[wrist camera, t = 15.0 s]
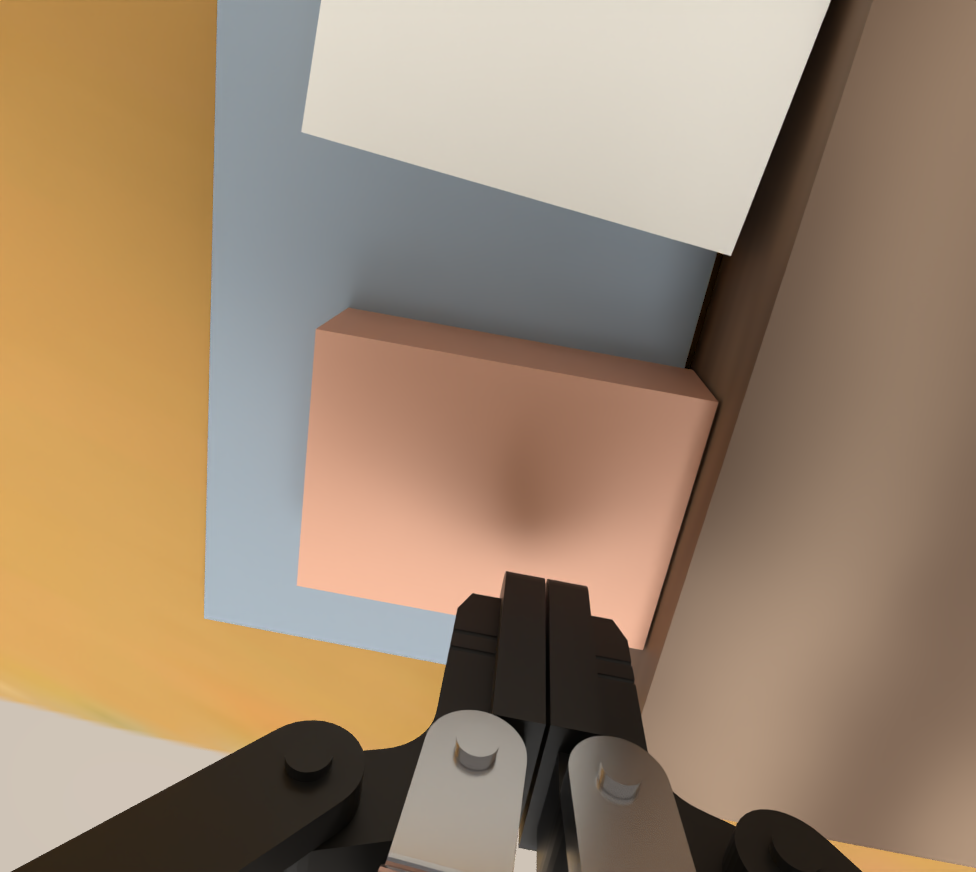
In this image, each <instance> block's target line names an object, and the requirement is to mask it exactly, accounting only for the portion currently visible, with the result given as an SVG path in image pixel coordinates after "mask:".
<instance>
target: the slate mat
mask: <svg viewBox="0 0 976 872" xmlns="http://www.w3.org/2000/svg"><path fill="white" fill-rule="evenodd" d="M320 5H321V0H217V46H216V92H215V138H214V184H213V230H212V276H211V322H210V369H209V415H208V461H207V507H206V553H205V599H204V619H210V620H215V621H220V622H225V623H231V624H236V625H241V626H246V627H252V628H257V629H262V630H267V631H273V632H278V633H283V634H288V635H294V636H299V637H304V638H309V639H315V640H320V641H325V642H330V643H335V644H341V645H346V646H351V647H356V648H362V649H367V650H372V651H377V652H383V653H388V654H393V655H398V656H404V657H409V658H414V659H419V660H425V661H430V662H435V663H440V664H446V662H447V658H448V653H449V648H450V643H451V638H452V633H453V628H454V623H455V618H456V615H451V614H446V613H440V612H435V611H430V610H424V609H419V608H413V607H408V606H403V605H397V604H392V603H387V602H381V601H376V600H370V599H365V598H360V597H354V596H349V595H344V594H338V593H333V592H327V591H322V590H317V589H311V588H306V587H301V586H297V575H298V561H299V548H300V534H301V521H302V507H303V494H304V480H305V467H306V453H307V440H308V427H309V413H310V400H311V386H312V373H313V359H314V346H315V332H316V329H317V328H318V327H320V326H321V325H323V324H324V323H326V322H327V321H329V320H330V319H332V318H333V317H335V316H336V315H338V314H339V313H341V312H342V311H344V310H345V309H347V308H354V309H359V310H365V311H370V312H376V313H381V314H387V315H392V316H398V317H403V318H409V319H414V320H420V321H425V322H431V323H437V324H442V325H448V326H453V327H459V328H464V329H470V330H475V331H481V332H486V333H492V334H497V335H503V336H508V337H514V338H519V339H525V340H530V341H536V342H542V343H547V344H553V345H558V346H564V347H569V348H575V349H580V350H586V351H591V352H597V353H602V354H608V355H613V356H619V357H624V358H630V359H635V360H641V361H647V362H652V363H658V364H663V365H669V366H674V367H680V368H684V367H685V364H686V360H687V357H688V353H689V350H690V346H691V343H692V339H693V336H694V332H695V329H696V325H697V322H698V318H699V315H700V311H701V308H702V304H703V301H704V297H705V294H706V290H707V287H708V283H709V280H710V276H711V273H712V269H713V266H714V262H715V259H716V255H717V252H715V251H712V250H708V249H705V248H701V247H698V246H695V245H691V244H688V243H684V242H681V241H677V240H674V239H670V238H667V237H663V236H660V235H656V234H653V233H649V232H646V231H643V230H639V229H636V228H632V227H629V226H625V225H622V224H618V223H615V222H611V221H608V220H604V219H601V218H597V217H594V216H590V215H587V214H584V213H580V212H577V211H573V210H570V209H566V208H563V207H559V206H556V205H552V204H549V203H545V202H542V201H538V200H535V199H532V198H528V197H525V196H521V195H518V194H514V193H511V192H507V191H504V190H500V189H497V188H493V187H490V186H486V185H483V184H480V183H476V182H473V181H469V180H466V179H462V178H459V177H455V176H452V175H448V174H445V173H441V172H438V171H434V170H431V169H428V168H424V167H421V166H417V165H414V164H410V163H407V162H403V161H400V160H396V159H393V158H389V157H386V156H382V155H379V154H376V153H372V152H369V151H365V150H362V149H358V148H355V147H351V146H348V145H344V144H341V143H337V142H334V141H330V140H327V139H324V138H320V137H317V136H313V135H310V134H306V133H303V132H301V130H302V124H303V117H304V110H305V104H306V97H307V91H308V84H309V77H310V71H311V64H312V58H313V51H314V44H315V38H316V31H317V25H318V18H319V11H320Z"/></svg>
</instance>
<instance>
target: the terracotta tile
mask: <svg viewBox="0 0 976 872" xmlns="http://www.w3.org/2000/svg"><path fill="white" fill-rule="evenodd" d="M717 406H718V401H717V399H716V398H715V397H714V396H713V394H712V393H711V392H710V391H709V389H708V388H707V387H706V386H705V384H704V383H703V382H702V381H701V379H700V378H699V377H698V375H697V374H696V373H695V372H694V370H691V369H685V368H680V367H674V366H669V365H663V364H658V363H652V362H647V361H641V360H635V359H630V358H624V357H619V356H613V355H608V354H602V353H597V352H591V351H586V350H580V349H575V348H569V347H564V346H558V345H553V344H547V343H542V342H536V341H530V340H525V339H519V338H514V337H508V336H503V335H497V334H492V333H486V332H481V331H475V330H470V329H464V328H459V327H453V326H448V325H442V324H437V323H431V322H425V321H420V320H414V319H409V318H403V317H398V316H392V315H387V314H381V313H376V312H370V311H365V310H359V309H354V308H347V309H345V310H344V311H342V312H341V313H339V314H338V315H336V316H335V317H333V318H332V319H330V320H329V321H327V322H326V323H324V324H323V325H321V326H320V327H318V328H317V329H316V332H315V346H314V359H313V373H312V386H311V400H310V413H309V427H308V440H307V453H306V467H305V480H304V494H303V507H302V521H301V534H300V548H299V561H298V575H297V586H301V587H306V588H311V589H317V590H322V591H327V592H333V593H338V594H344V595H349V596H354V597H360V598H365V599H370V600H376V601H381V602H387V603H392V604H397V605H403V606H408V607H413V608H419V609H424V610H430V611H435V612H440V613H446V614H451V615H456V613H457V608H458V607H459V606H460V605H461V604H462V603H463V602H464V601H465V600H466V599H467V598H468V597H469V596H470V595H471V594H472V593H475V594H480V595H485V596H491V597H496V598H500V593H501V588H502V583H503V579H504V575H505V572H506V571H509V572H514V573H519V574H525V575H530V576H535V577H540V578H545V583H546V581H547V579H552V580H557V581H562V582H568V583H573V584H578V585H583V586H587V587H588V591H589V600H590V609H591V616H597V617H602V618H607V619H612V620H613V621H614V622H615V624H616V625H617V626H618V628H619V629H620V630H621V632H622V633H623V635H624V636H625V637H626V639H627V640H628V645H629V648H634V649H639V650H643V648H644V645H645V642H646V638H647V635H648V632H649V628H650V625H651V622H652V619H653V615H654V612H655V609H656V606H657V602H658V599H659V596H660V592H661V589H662V586H663V583H664V579H665V576H666V573H667V569H668V566H669V563H670V560H671V556H672V553H673V550H674V547H675V543H676V540H677V537H678V533H679V530H680V527H681V524H682V520H683V517H684V514H685V511H686V507H687V504H688V501H689V497H690V494H691V491H692V488H693V484H694V481H695V478H696V474H697V471H698V468H699V465H700V461H701V458H702V455H703V452H704V448H705V445H706V442H707V438H708V435H709V432H710V429H711V425H712V422H713V419H714V416H715V412H716V409H717Z"/></svg>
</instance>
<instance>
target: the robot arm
mask: <svg viewBox="0 0 976 872" xmlns="http://www.w3.org/2000/svg"><path fill="white" fill-rule="evenodd" d="M634 681H635V678H634V673H633V667H632V666H631V656H630V651H629V645H628V640H627V639H626V637H625V636H624V635H623V633H622V632H621V630H620V629H619V628H618V626H617V625H616V624H615V622H614V621H613V620H612V619H607V618H602V617H597V616H591V609H590V600H589V591H588V587H587V586H583V585H578V584H573V583H568V582H562V581H557V580H552V579H547V581H546V583H545V578H540V577H535V576H530V575H525V574H519V573H514V572H509V571H506V572H505V575H504V579H503V583H502V588H501V593H500V598H496V597H491V596H485V595H480V594H475V593H472V594H471V595H470V596H469V597H468V598H467V599H466V600H465V601H464V602H463V603H462V604H461V605H460V606H459V607H458V608H457V613H456V618H455V623H454V628H453V633H452V638H451V643H450V648H449V653H448V658H447V662H446V667H445V672H444V677H443V682H442V687H441V692H440V697H439V702H438V707H437V712H436V715H435V718H434V720H433V722H432V724H431V725H430V727H429V728H428V729H427V730H426V731H425V732H424V733H423V734H422V735H421V736H420V737H418V738H416V739H415V740H413V741H411V742H409V743H407V744H404V745H401V746H398V747H394V748H387V749H378V750H366V751H363V750H362V748H361V746H360V744H359V742H358V741H357V740H356V738H355V737H354V736H353V735H352V734H351V733H349V732H348V731H347V730H345V729H344V728H342V727H340V726H338V725H335V724H333V723H329V722H324V721H315V720H312V721H300V722H295V723H292V724H288V725H285V726H283V727H281V728H279V729H277V730H275V731H273V732H271V733H269V734H267V735H266V736H264V737H262V738H260V739H258V740H256V741H254V742H252V743H251V744H249V745H247V746H245V747H243V748H241V749H239V750H237V751H236V752H234V753H232V754H230V755H228V756H226V757H224V758H223V759H221V760H219V761H217V762H215V763H214V764H212V765H209V766H208V767H206V768H204V769H202V770H200V771H198V772H196V773H195V774H193V775H191V776H189V777H187V778H185V779H184V780H182V781H180V782H178V783H176V784H174V785H172V786H170V787H168V788H167V789H165V790H163V791H161V792H159V793H157V794H155V795H154V796H152V797H150V798H148V799H146V800H144V801H142V802H140V803H138V804H137V805H135V806H133V807H131V808H129V809H127V810H126V811H124V812H122V813H120V814H118V815H116V816H114V817H113V818H110V819H109V820H107V821H105V822H103V823H101V824H99V825H98V826H96V827H94V828H92V829H90V830H88V831H86V832H84V833H82V834H81V835H79V836H77V837H75V838H73V839H71V840H69V841H68V842H66V843H64V844H62V845H60V846H58V847H56V848H55V849H53V850H51V851H49V852H47V853H45V854H43V855H41V856H39V857H38V858H36V859H34V860H32V861H30V862H28V863H26V864H25V865H23V866H21V867H19V868H17V869H15V870H13V871H12V872H513V870H514V861H515V854H516V846H517V838H518V830H519V848H523V849H528V850H533V851H537V872H862V871H861V870H860V869H859V868H858V867H856V866H855V865H854V864H853V863H852V862H851V861H850V860H849V859H848V858H847V857H845V856H844V855H843V854H842V853H841V852H840V851H839V850H838V849H837V848H836V847H834V846H833V845H832V844H831V843H830V842H829V841H828V840H827V839H826V838H825V837H823V836H822V835H821V834H820V833H819V832H817V831H816V830H815V829H814V828H812V827H811V826H809V825H808V824H806V823H805V822H803V821H801V820H799V819H798V818H796V817H793V816H791V815H789V814H786V813H783V812H780V811H776V810H769V809H759V810H754V811H751V812H748V813H746V814H745V815H744V816H743V817H741V818H740V820H739V821H738V823H737V825H736V826H734V825H731V824H729V823H727V822H725V821H723V820H721V819H719V818H717V817H715V816H713V815H710V814H708V813H706V812H704V811H702V810H700V809H698V808H696V807H694V806H692V805H691V804H689V803H687V802H686V801H684V800H683V799H681V798H680V797H679V796H678V795H676V794H675V793H674V792H673V791H672V788H671V784H670V782H669V779H668V776H667V774H666V773H665V771H664V769H663V768H662V767H661V765H660V764H659V763H658V761H657V760H656V759H655V758H654V757H653V756H652V755H650V754H649V753H648V750H647V745H646V739H645V733H644V728H643V722H642V717H641V711H640V706H639V700H638V695H637V689H636V684H634Z"/></svg>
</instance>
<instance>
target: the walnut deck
mask: <svg viewBox="0 0 976 872" xmlns="http://www.w3.org/2000/svg"><path fill="white" fill-rule="evenodd" d="M690 369H691V370H694V372H695V373H696V374H697V375H698V377H699V378H700V379H701V381H702V382H703V383H704V384H705V386H706V387H707V388H708V389H709V391H710V392H711V393H712V394H713V396H714V397H715V398H716V399H717V401H718V406H717V409H716V412H715V416H714V419H713V422H712V425H711V429H710V432H709V435H708V438H707V442H706V445H705V448H704V452H703V455H702V458H701V461H700V465H699V468H698V471H697V474H696V478H695V481H694V484H693V488H692V491H691V494H690V497H689V501H688V504H687V507H686V511H685V514H684V517H683V520H682V524H681V527H680V530H679V533H678V537H677V540H676V543H675V547H674V550H673V553H672V556H671V560H670V563H669V566H668V569H667V573H666V576H665V579H664V583H663V586H662V589H661V592H660V596H659V599H658V602H657V606H656V609H655V612H654V615H653V619H652V622H651V625H650V628H649V632H648V635H647V638H646V642H645V645H644V648H643V650H639V649H634V648H629V651H630V656H631V666H632V667H633V673H634V678H635V681H634V684H636V689H637V695H638V700H639V706H640V711H641V717H642V722H643V728H644V733H645V739H646V745H647V750H648V753H649V754H650V755H652V756H653V757H654V758H655V759H656V760H657V761H658V763H659V764H660V765H661V767H662V768H663V769H664V771H665V773H666V774H667V776H668V779H669V782H670V784H671V788H672V791H673V792H674V793H675V794H676V795H678V796H679V797H680V798H681V799H683V800H684V801H686V802H687V803H689V804H691V805H692V806H694V807H696V808H698V809H700V810H702V811H704V812H706V813H708V814H710V815H713V816H715V817H717V818H719V819H724V820H729V821H734V822H738V821H739V820H740V818H741V817H743V816H744V815H745V814H746V813H748V812H751V811H754V810H759V809H769V810H776V811H780V812H783V813H786V814H789V815H791V816H793V817H796V818H798V819H799V820H801V821H803V822H805V823H806V824H808V825H809V826H811V827H812V828H814V829H815V830H816V831H817V832H819V833H820V834H821V835H822V836H823V837H825V838H826V839H828V840H833V841H838V842H843V843H849V844H854V845H859V846H864V847H869V848H875V849H880V850H885V851H890V852H895V853H901V854H906V855H911V856H916V857H921V858H927V859H932V860H937V861H942V862H947V863H953V864H958V865H963V866H968V867H973V868H976V0H831V1H830V4H829V6H828V9H827V12H826V14H825V17H824V19H823V22H822V24H821V27H820V29H819V32H818V35H817V37H816V40H815V42H814V45H813V47H812V50H811V52H810V55H809V58H808V60H807V63H806V65H805V68H804V70H803V73H802V75H801V78H800V81H799V83H798V86H797V88H796V91H795V93H794V96H793V98H792V101H791V104H790V106H789V109H788V111H787V114H786V116H785V119H784V122H783V124H782V127H781V129H780V132H779V134H778V137H777V139H776V142H775V145H774V147H773V150H772V152H771V155H770V157H769V160H768V162H767V165H766V168H765V170H764V173H763V175H762V178H761V180H760V183H759V185H758V188H757V191H756V193H755V196H754V198H753V201H752V203H751V206H750V208H749V211H748V214H747V216H746V219H745V221H744V224H743V226H742V229H741V231H740V234H739V237H738V239H737V242H736V244H735V247H734V249H733V252H732V254H731V256H729V255H726V254H723V258H722V261H721V265H720V268H719V272H718V275H717V278H716V282H715V285H714V289H713V292H712V296H711V299H710V303H709V306H708V310H707V313H706V316H705V320H704V323H703V327H702V330H701V334H700V337H699V341H698V344H697V348H696V351H695V355H694V358H693V361H692V365H691V368H690Z"/></svg>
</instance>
